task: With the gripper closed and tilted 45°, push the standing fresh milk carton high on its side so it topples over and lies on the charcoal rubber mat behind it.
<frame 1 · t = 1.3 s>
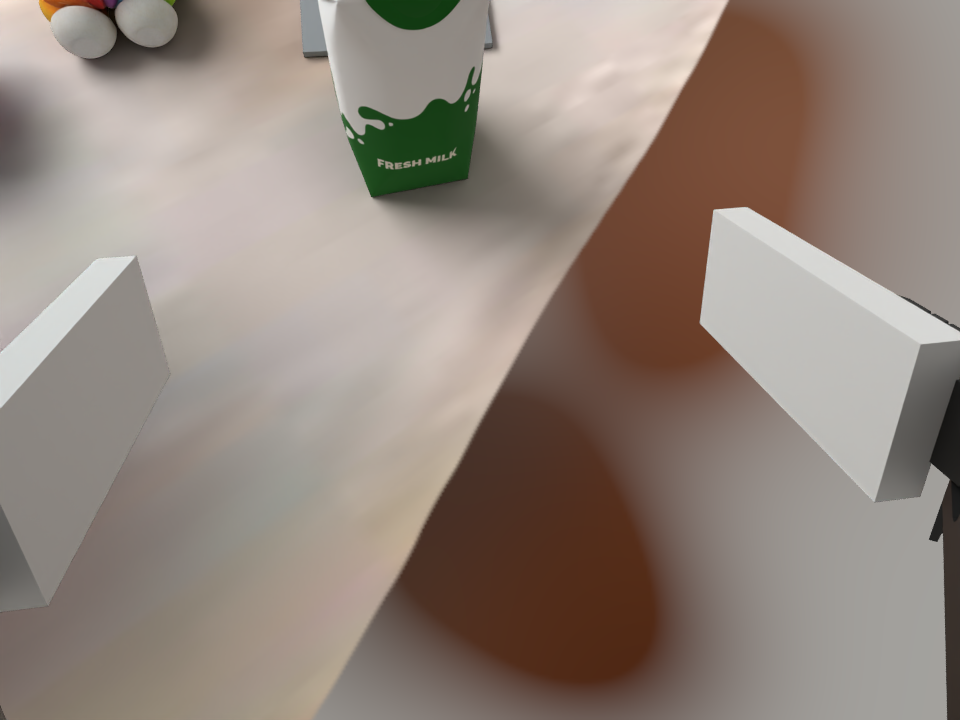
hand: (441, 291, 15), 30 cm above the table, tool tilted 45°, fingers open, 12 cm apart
rainbow cloud toy: (123, 18, 52), on the table
fresh milk carton: (408, 146, 50), on the table
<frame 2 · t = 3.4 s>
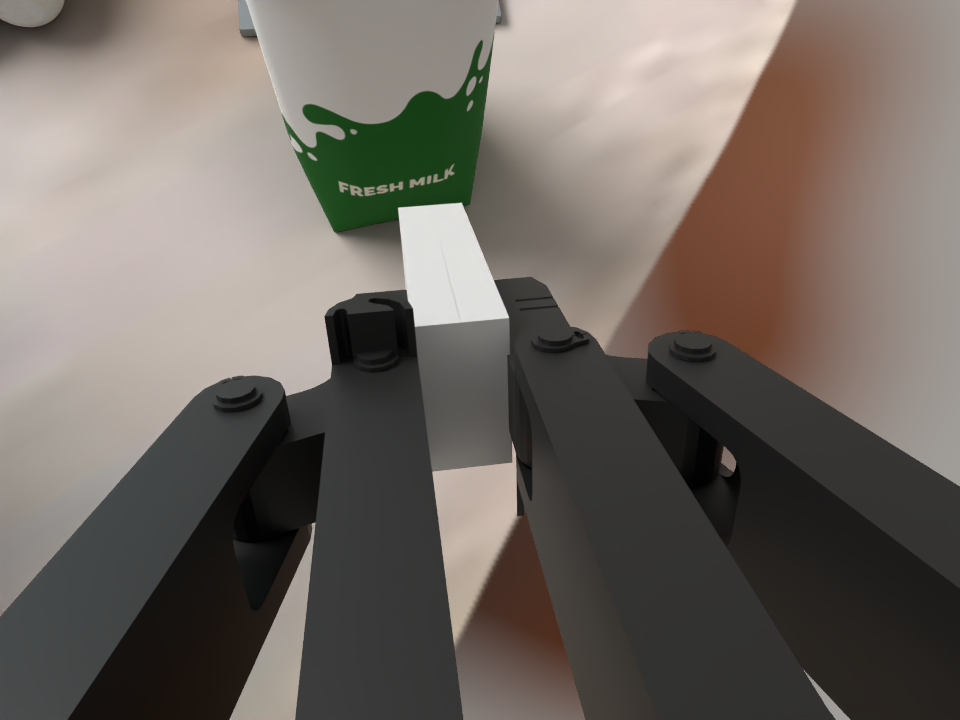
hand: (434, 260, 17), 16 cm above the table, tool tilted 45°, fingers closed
fresh milk carton: (387, 159, 36), on the table
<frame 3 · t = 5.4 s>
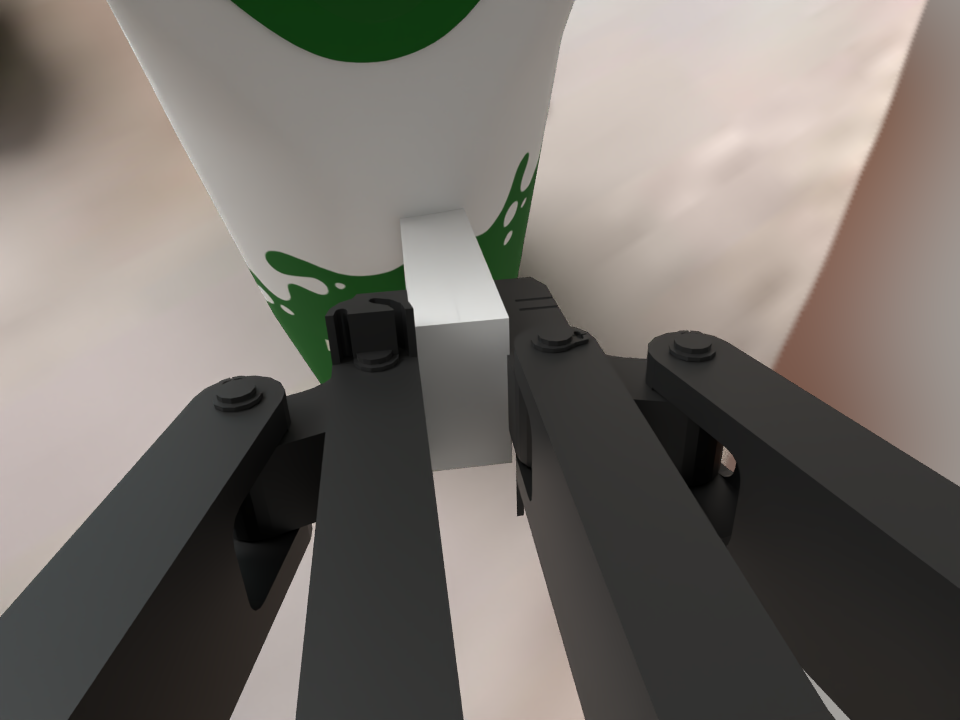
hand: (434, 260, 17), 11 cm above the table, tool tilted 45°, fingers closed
fresh milk carton: (395, 290, 28), on the table
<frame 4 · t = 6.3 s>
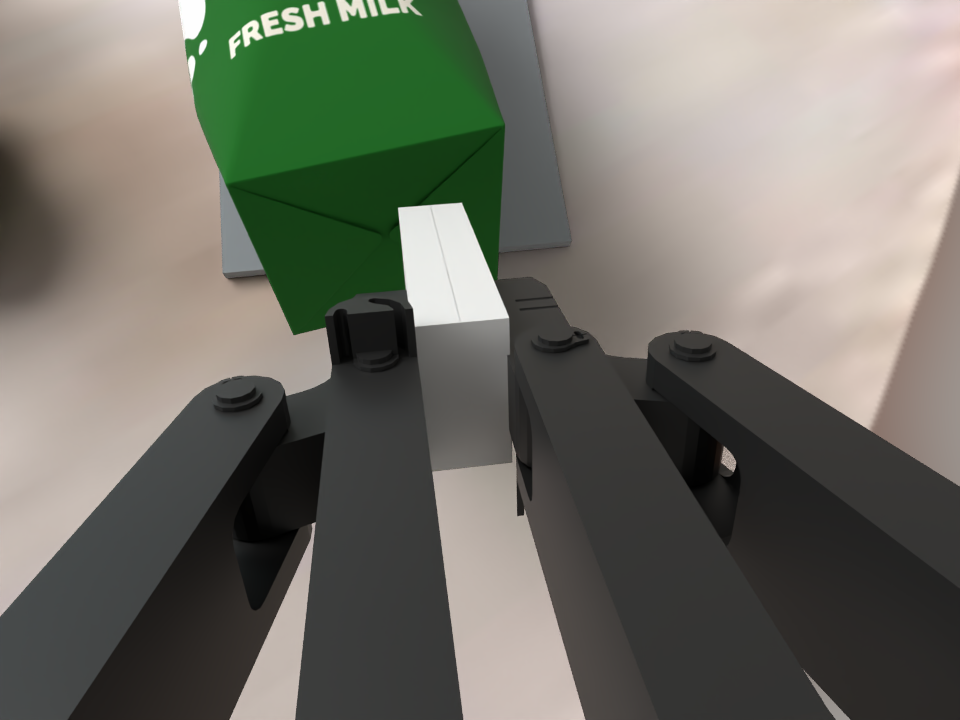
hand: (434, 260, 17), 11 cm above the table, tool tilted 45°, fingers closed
topple mat: (379, 57, 31), on the table
fresh milk carton: (388, 252, 20), point 8 cm above the table, touching topple mat
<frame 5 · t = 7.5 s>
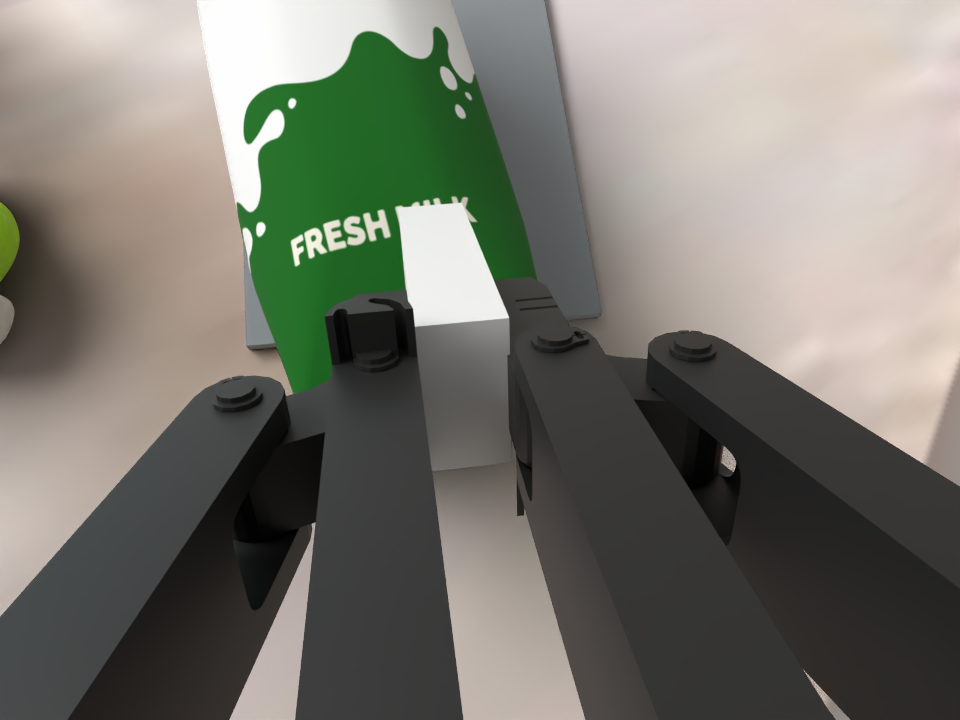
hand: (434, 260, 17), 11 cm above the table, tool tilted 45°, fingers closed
topple mat: (405, 119, 31), on the table
fresh milk carton: (434, 419, 22), point 5 cm above the table, touching topple mat
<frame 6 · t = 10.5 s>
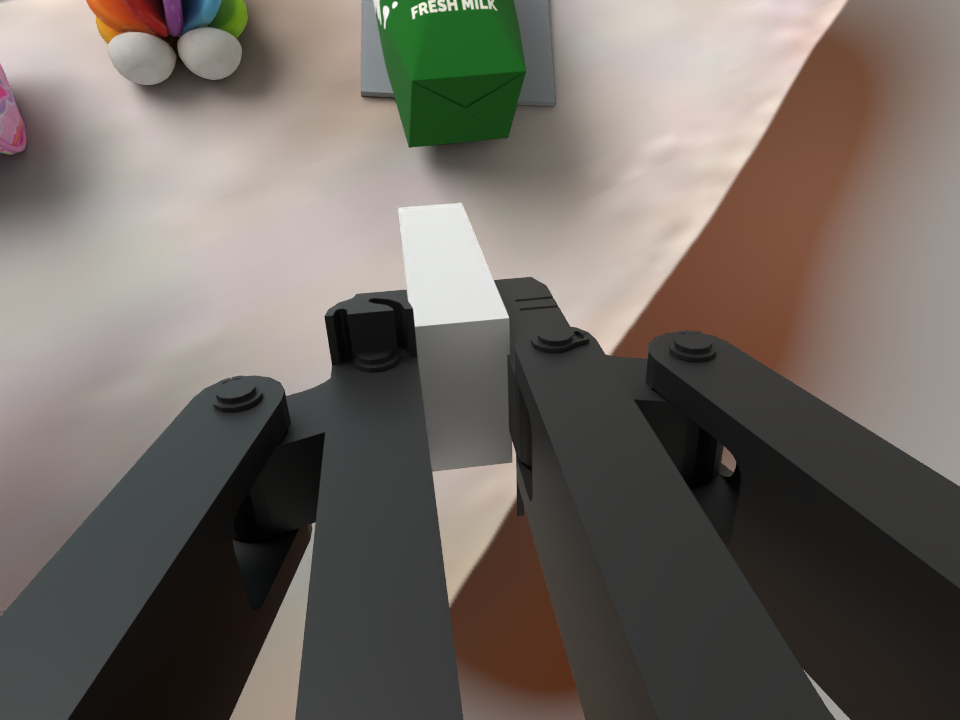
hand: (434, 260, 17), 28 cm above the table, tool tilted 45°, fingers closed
rainbow cloud toy: (182, 42, 49), on the table
fresh milk carton: (464, 116, 44), point 5 cm above the table, touching topple mat
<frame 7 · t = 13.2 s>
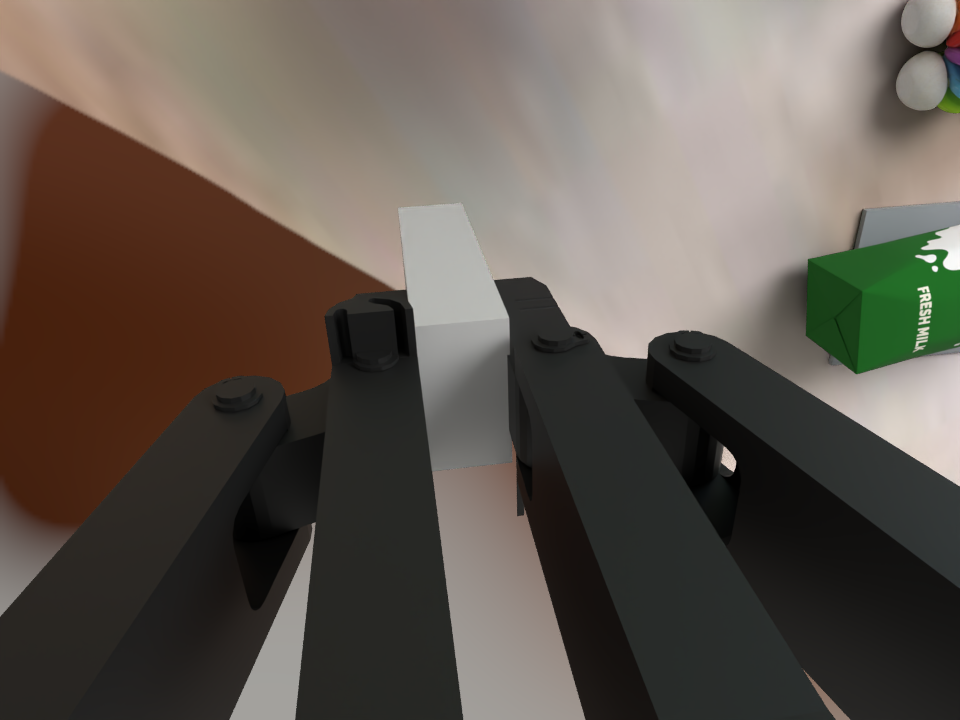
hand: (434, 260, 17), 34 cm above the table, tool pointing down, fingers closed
topple mat: (953, 280, 60), on the table
rainbow cloud toy: (942, 38, 51), on the table
fresh milk carton: (827, 315, 54), point 5 cm above the table, touching topple mat
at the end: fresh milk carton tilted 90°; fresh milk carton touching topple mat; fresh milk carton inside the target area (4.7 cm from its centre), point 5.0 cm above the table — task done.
